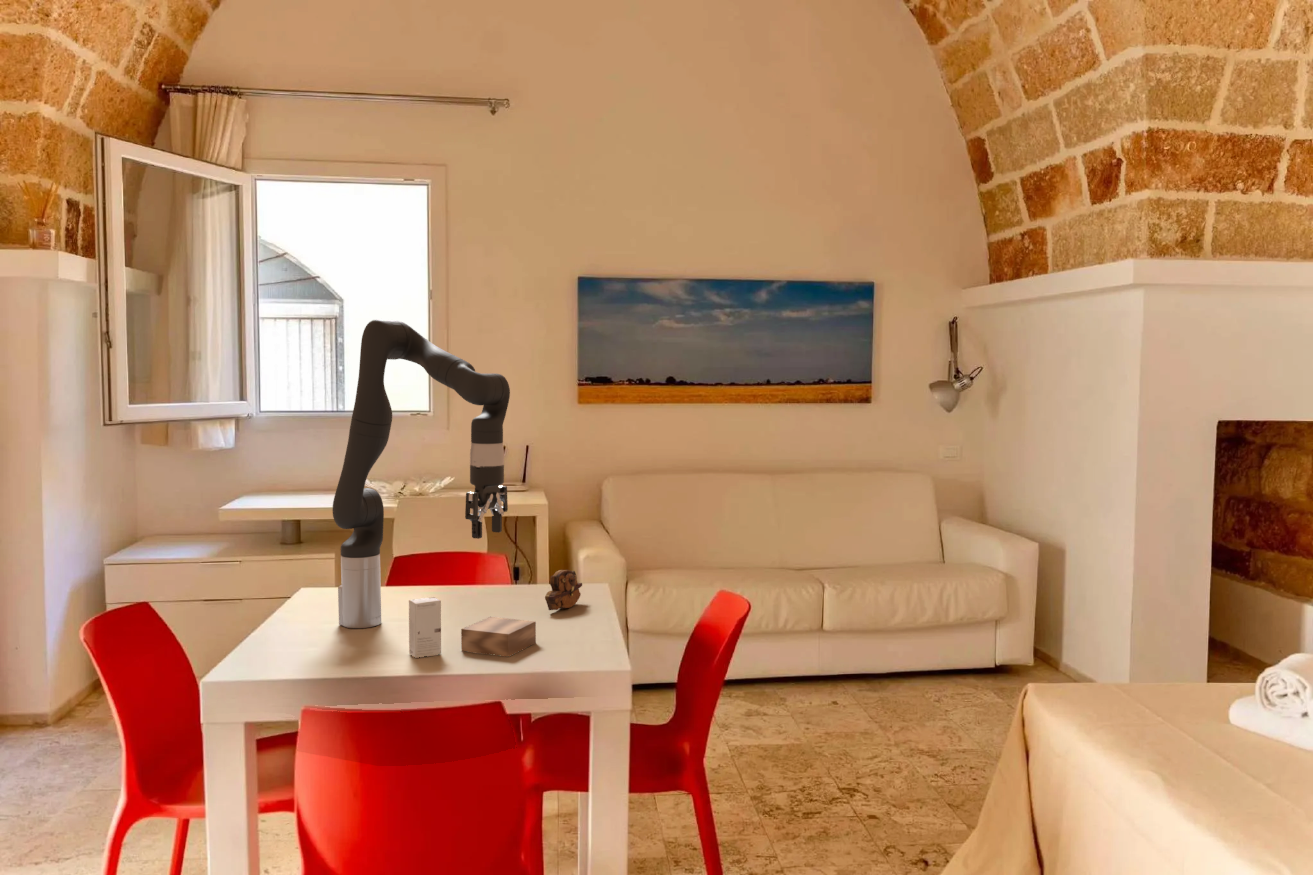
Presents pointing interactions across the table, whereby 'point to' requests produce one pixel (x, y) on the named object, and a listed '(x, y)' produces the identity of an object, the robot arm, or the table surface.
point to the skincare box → (424, 627)
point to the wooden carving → (563, 590)
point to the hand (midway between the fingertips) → (487, 535)
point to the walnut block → (498, 636)
